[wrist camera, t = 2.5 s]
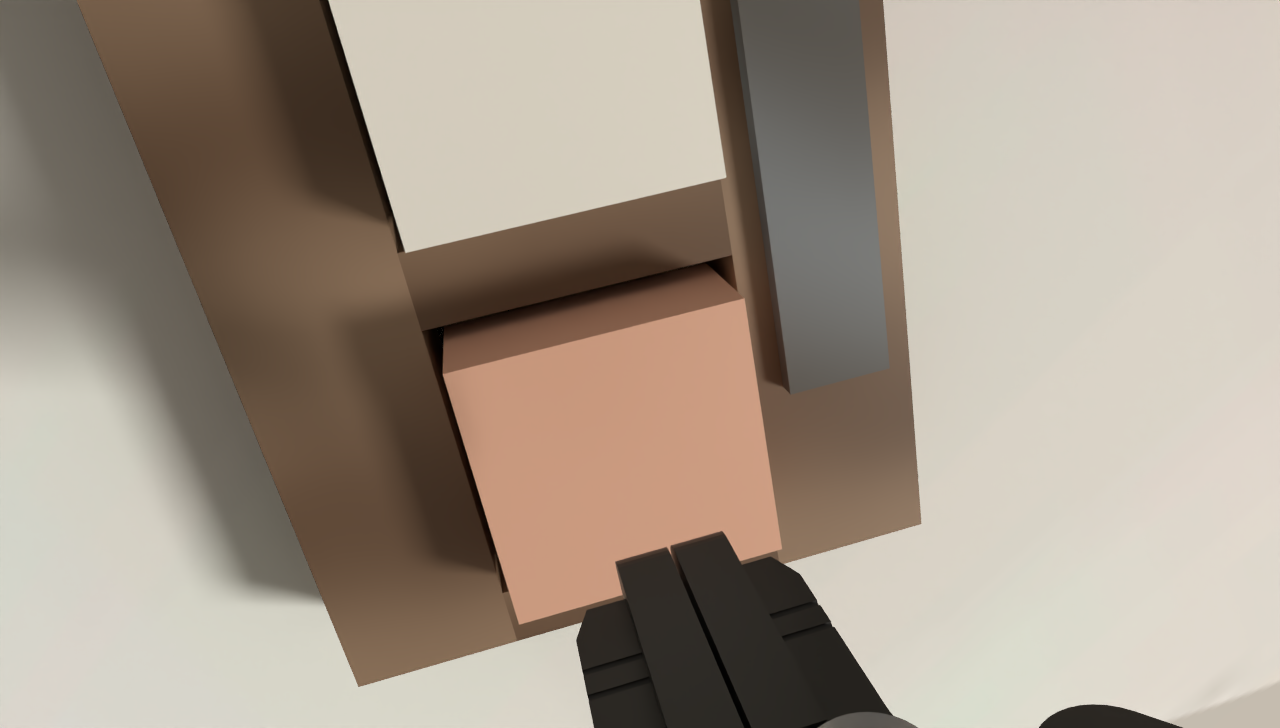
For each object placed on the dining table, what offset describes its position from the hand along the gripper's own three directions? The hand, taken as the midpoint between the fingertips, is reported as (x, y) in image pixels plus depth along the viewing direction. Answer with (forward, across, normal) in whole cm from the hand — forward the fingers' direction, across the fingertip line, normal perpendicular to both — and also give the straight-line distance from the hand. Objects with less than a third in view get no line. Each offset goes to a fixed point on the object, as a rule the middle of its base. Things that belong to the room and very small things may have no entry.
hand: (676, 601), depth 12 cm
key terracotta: (+6, 0, 0) cm, 6 cm away
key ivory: (+6, 0, -7) cm, 9 cm away
